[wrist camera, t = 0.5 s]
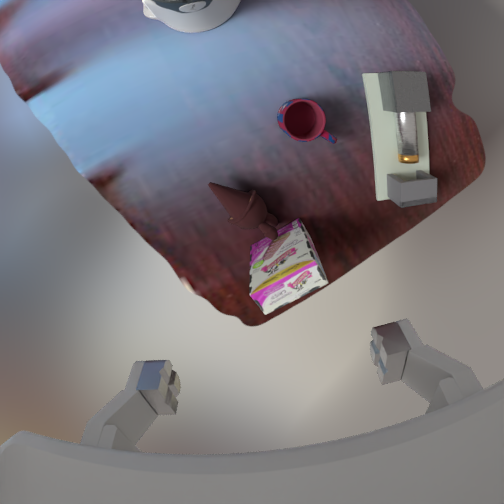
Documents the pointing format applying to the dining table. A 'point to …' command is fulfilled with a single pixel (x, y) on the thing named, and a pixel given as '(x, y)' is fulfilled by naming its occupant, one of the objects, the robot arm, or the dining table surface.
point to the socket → (412, 189)
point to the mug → (303, 120)
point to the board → (391, 140)
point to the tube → (407, 137)
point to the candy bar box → (284, 268)
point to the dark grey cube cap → (404, 91)
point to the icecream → (246, 210)
